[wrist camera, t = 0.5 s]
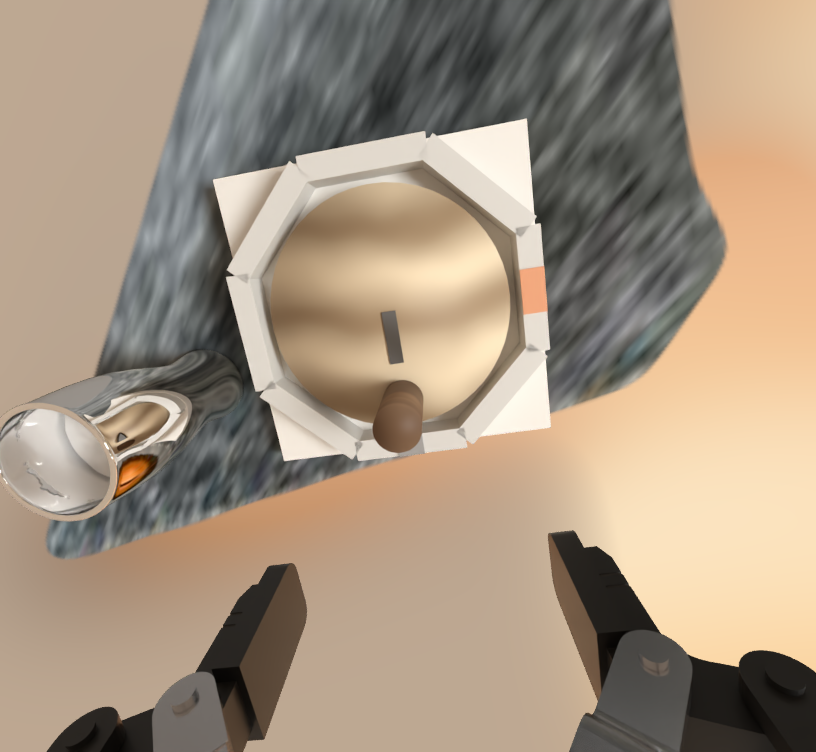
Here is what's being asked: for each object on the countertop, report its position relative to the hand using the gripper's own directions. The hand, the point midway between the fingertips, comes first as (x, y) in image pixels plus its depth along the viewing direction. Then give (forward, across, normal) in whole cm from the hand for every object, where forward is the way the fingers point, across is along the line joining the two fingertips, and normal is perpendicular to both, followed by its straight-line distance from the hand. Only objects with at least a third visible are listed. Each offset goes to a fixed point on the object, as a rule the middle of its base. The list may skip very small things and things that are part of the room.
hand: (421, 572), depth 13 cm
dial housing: (+22, +2, -7) cm, 23 cm away
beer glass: (+22, +18, -3) cm, 29 cm away
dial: (+20, +2, -7) cm, 21 cm away
